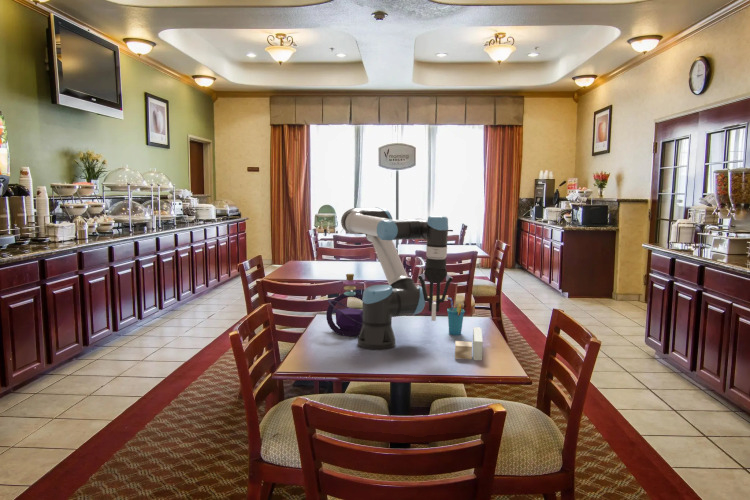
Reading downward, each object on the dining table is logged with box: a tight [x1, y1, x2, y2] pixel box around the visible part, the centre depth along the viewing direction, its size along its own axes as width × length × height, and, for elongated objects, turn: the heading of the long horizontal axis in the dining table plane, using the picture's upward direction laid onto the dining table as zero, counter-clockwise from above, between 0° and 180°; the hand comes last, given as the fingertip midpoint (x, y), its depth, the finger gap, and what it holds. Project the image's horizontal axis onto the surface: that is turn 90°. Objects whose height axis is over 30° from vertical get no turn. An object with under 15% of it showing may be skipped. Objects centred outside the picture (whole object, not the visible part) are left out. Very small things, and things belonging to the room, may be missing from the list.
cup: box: [445, 297, 466, 336], centre depth 220 cm, size 14×8×15 cm, turn 22°
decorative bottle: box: [326, 273, 363, 337], centre depth 221 cm, size 22×21×25 cm
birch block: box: [454, 340, 473, 360], centre depth 190 cm, size 6×6×5 cm
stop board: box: [472, 326, 484, 361], centre depth 196 cm, size 3×20×7 cm, turn 170°
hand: (433, 319), depth 191 cm, fingers closed
